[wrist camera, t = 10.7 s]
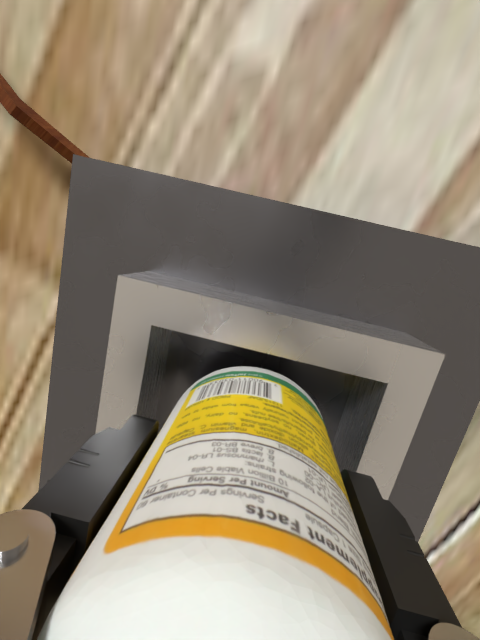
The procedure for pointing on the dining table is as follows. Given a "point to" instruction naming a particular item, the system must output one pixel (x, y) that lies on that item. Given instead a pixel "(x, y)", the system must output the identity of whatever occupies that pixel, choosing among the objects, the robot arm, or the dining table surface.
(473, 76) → the dining table surface
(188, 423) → the supplement bottle
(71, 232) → the mount
